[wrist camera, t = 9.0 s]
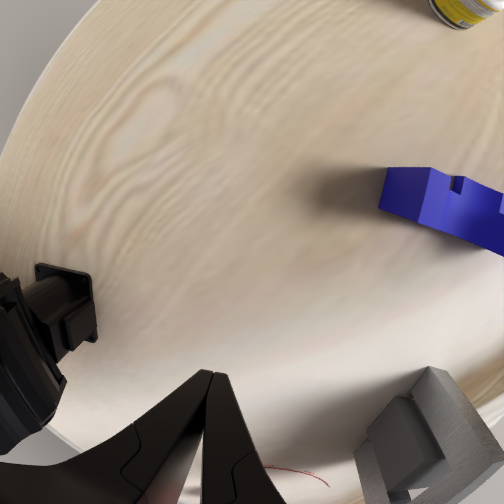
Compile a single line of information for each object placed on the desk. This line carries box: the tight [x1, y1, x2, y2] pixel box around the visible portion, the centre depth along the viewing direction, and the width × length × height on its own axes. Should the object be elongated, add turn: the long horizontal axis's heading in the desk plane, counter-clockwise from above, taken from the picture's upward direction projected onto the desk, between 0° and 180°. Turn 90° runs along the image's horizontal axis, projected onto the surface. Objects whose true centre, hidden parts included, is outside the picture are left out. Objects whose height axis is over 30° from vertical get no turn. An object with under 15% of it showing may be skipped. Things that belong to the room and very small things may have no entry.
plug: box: [367, 397, 451, 492], centre depth 20 cm, size 12×5×9 cm, turn 68°
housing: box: [353, 366, 504, 504], centre depth 18 cm, size 3×14×13 cm, turn 158°
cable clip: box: [378, 167, 504, 257], centre depth 16 cm, size 12×4×6 cm, turn 77°
